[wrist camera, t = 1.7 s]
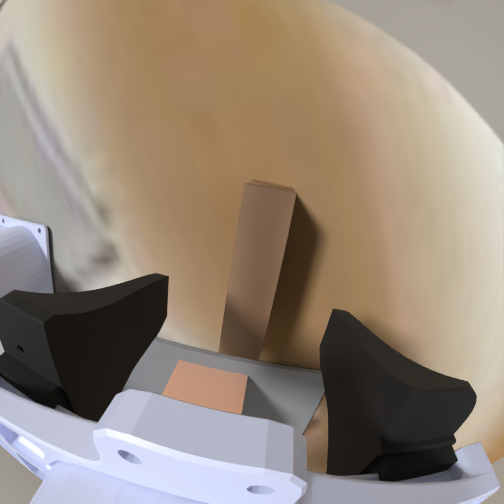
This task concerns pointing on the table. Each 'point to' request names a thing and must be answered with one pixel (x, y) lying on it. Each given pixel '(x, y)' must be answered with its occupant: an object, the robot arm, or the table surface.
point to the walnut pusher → (255, 267)
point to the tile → (207, 387)
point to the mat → (259, 373)
